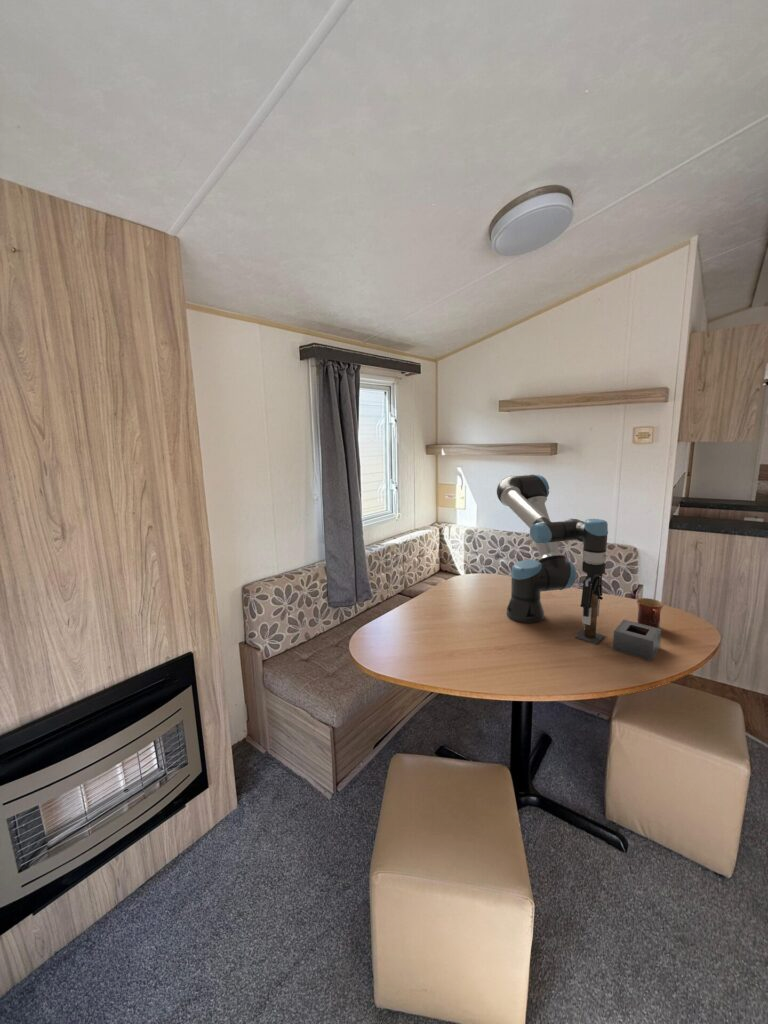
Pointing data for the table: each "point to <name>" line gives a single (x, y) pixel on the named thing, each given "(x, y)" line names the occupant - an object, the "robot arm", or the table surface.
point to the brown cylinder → (592, 619)
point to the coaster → (591, 640)
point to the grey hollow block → (637, 639)
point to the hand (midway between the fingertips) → (590, 619)
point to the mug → (649, 612)
